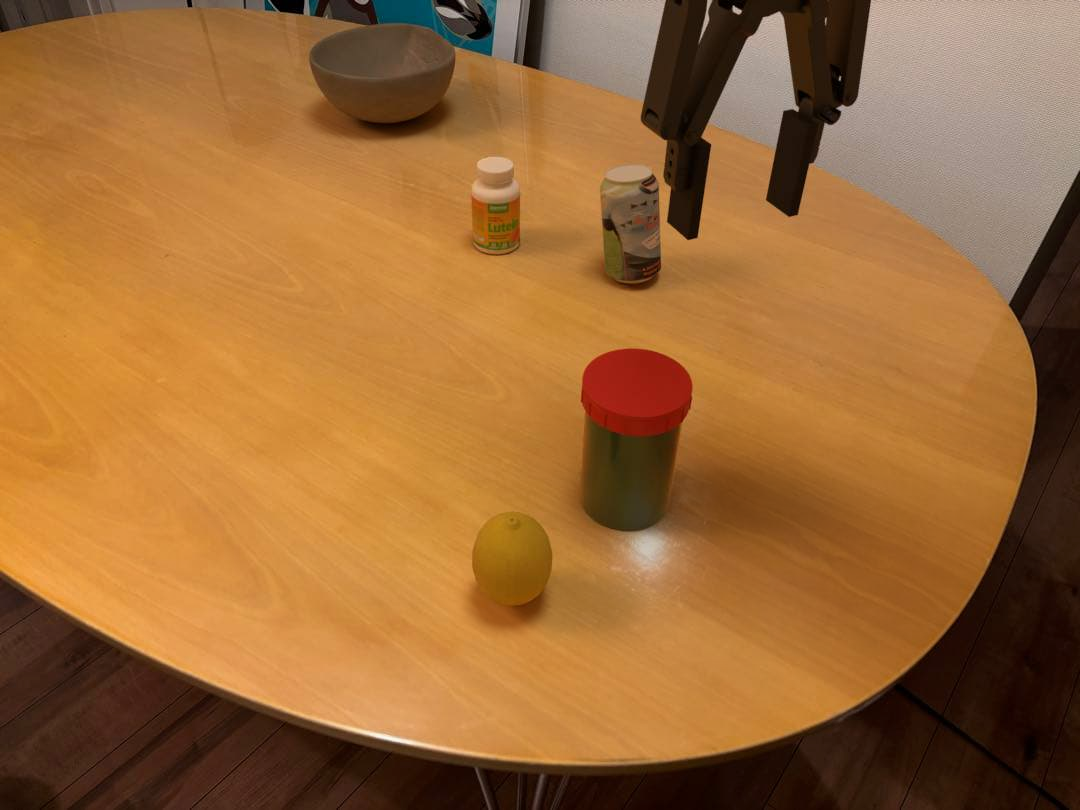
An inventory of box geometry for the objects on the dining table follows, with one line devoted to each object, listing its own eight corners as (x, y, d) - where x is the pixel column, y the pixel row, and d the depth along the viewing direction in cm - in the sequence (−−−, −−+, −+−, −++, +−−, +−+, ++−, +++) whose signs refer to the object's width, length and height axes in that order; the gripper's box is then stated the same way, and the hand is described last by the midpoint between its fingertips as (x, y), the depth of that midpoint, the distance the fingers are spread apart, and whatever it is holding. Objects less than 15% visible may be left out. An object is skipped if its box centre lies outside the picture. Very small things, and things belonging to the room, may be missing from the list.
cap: (692, 440, 61) (695, 420, 60) (578, 432, 62) (579, 413, 60) (687, 370, 67) (690, 351, 66) (583, 364, 68) (584, 345, 67)
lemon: (565, 587, 64) (569, 511, 59) (522, 641, 61) (523, 565, 55) (503, 554, 66) (501, 478, 61) (458, 604, 63) (452, 528, 58)
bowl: (289, 117, 128) (277, 47, 122) (393, 80, 140) (387, 13, 134) (383, 157, 118) (375, 83, 112) (487, 113, 130) (485, 43, 124)
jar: (670, 534, 68) (689, 422, 61) (577, 527, 68) (584, 415, 61) (668, 469, 74) (684, 359, 66) (581, 463, 74) (588, 353, 67)
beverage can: (644, 297, 93) (655, 193, 86) (583, 277, 96) (589, 174, 89) (669, 270, 98) (682, 169, 90) (610, 252, 100) (618, 152, 93)
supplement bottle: (486, 260, 99) (484, 179, 92) (464, 239, 102) (461, 159, 96) (528, 248, 101) (529, 168, 95) (505, 227, 104) (504, 149, 98)
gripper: (902, -194, 52) (817, 170, 67) (594, -180, 45) (575, 222, 60) (1002, -177, 47) (886, 215, 61) (670, -157, 40) (629, 276, 55)
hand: (732, 218), depth 61 cm, fingers open, 7 cm apart
